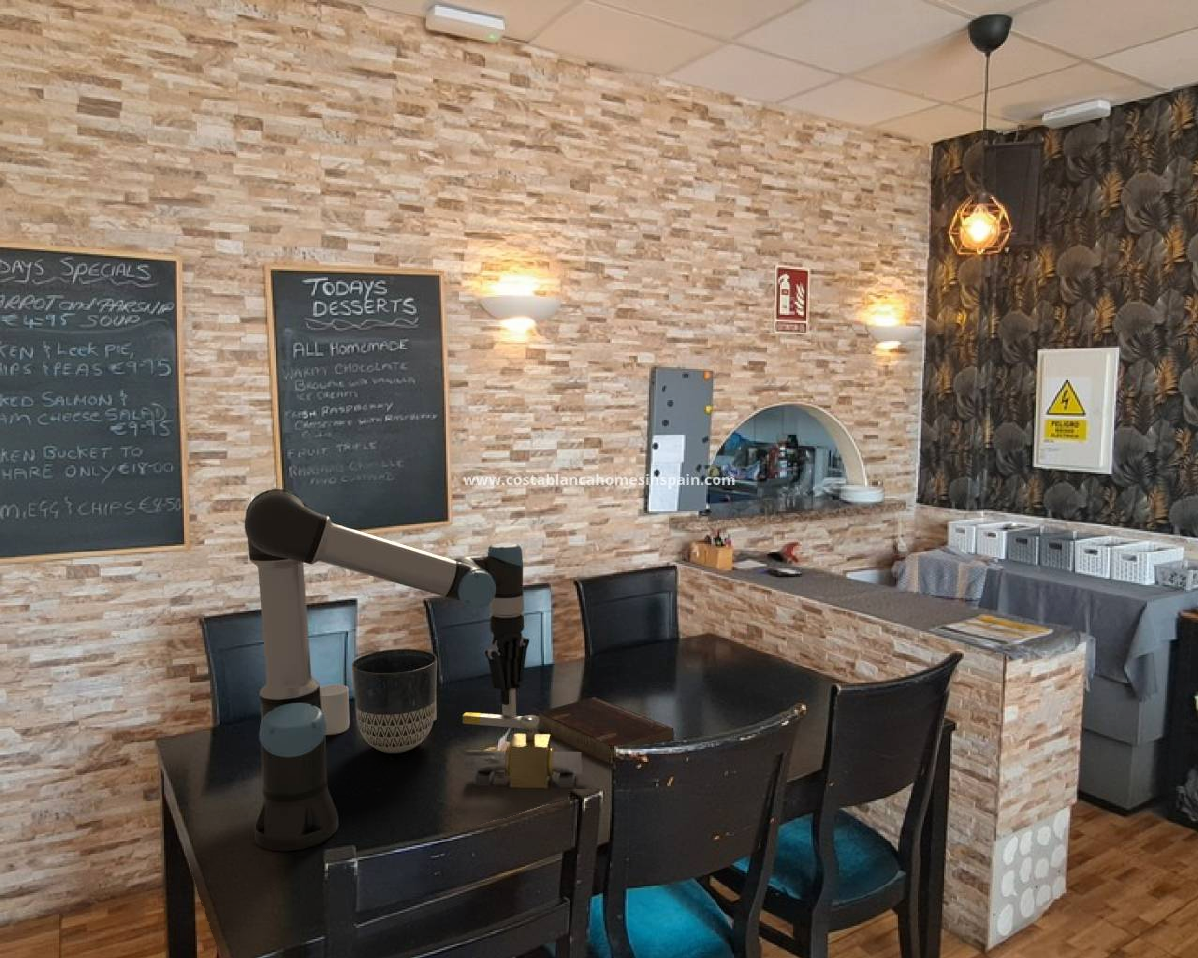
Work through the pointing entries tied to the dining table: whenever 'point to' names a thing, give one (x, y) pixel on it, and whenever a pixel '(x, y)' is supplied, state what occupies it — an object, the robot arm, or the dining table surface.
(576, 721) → the hardback book
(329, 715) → the cup
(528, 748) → the valve
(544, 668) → the dining table surface
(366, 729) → the planter
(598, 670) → the dining table surface
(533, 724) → the lever
